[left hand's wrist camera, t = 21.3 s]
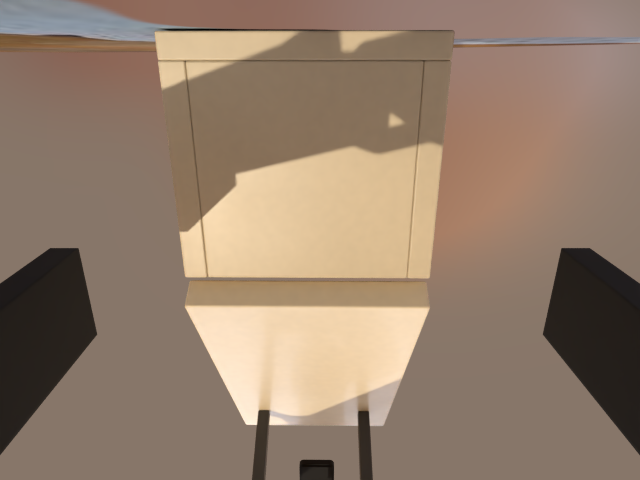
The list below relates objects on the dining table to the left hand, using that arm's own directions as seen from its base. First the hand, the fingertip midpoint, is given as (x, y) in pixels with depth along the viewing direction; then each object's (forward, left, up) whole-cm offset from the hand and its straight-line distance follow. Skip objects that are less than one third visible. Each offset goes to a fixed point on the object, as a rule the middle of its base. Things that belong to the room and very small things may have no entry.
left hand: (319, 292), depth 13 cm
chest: (-9, -9, -7) cm, 15 cm away
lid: (-7, -7, +10) cm, 14 cm away
